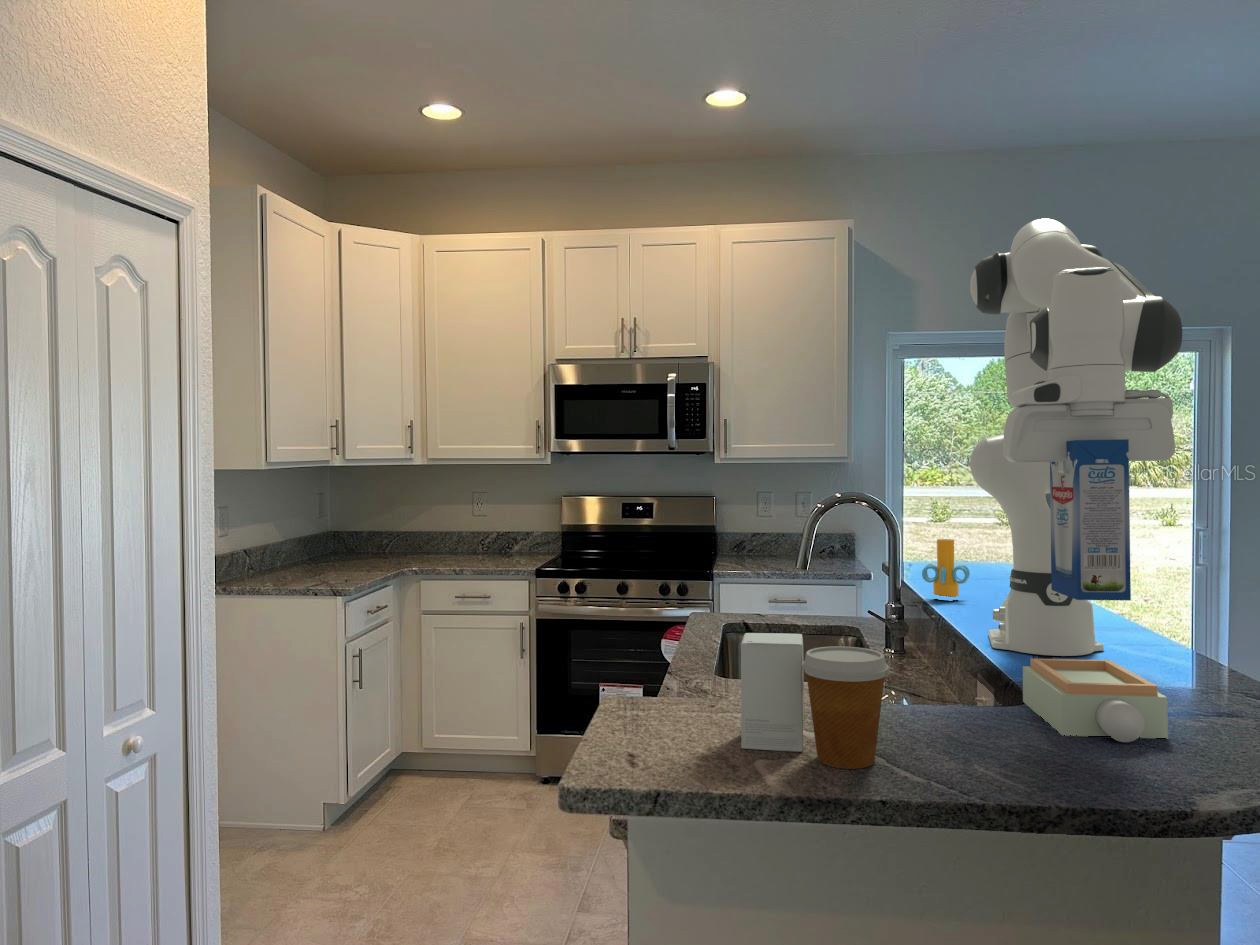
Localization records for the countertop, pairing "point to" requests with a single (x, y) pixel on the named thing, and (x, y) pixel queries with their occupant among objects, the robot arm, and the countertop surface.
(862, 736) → the disposable coffee cup
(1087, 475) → the milk carton
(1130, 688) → the framed green panel box
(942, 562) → the orange column with rings
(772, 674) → the supplement box
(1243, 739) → the countertop surface
